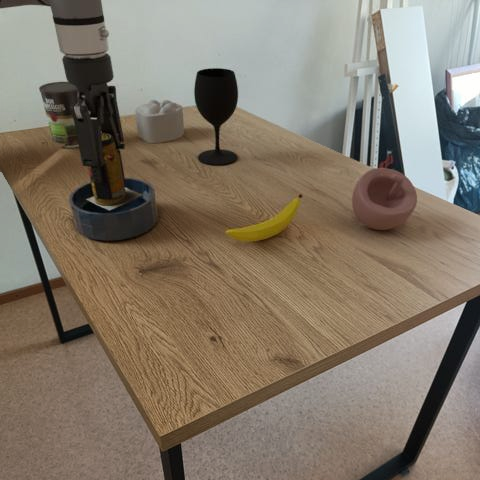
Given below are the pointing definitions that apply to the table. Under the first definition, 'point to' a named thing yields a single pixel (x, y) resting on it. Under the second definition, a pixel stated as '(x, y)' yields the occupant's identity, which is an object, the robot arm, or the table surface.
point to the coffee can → (60, 111)
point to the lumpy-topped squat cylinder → (159, 121)
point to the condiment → (112, 177)
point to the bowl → (114, 213)
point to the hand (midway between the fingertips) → (111, 190)
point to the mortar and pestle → (383, 199)
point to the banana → (267, 225)
